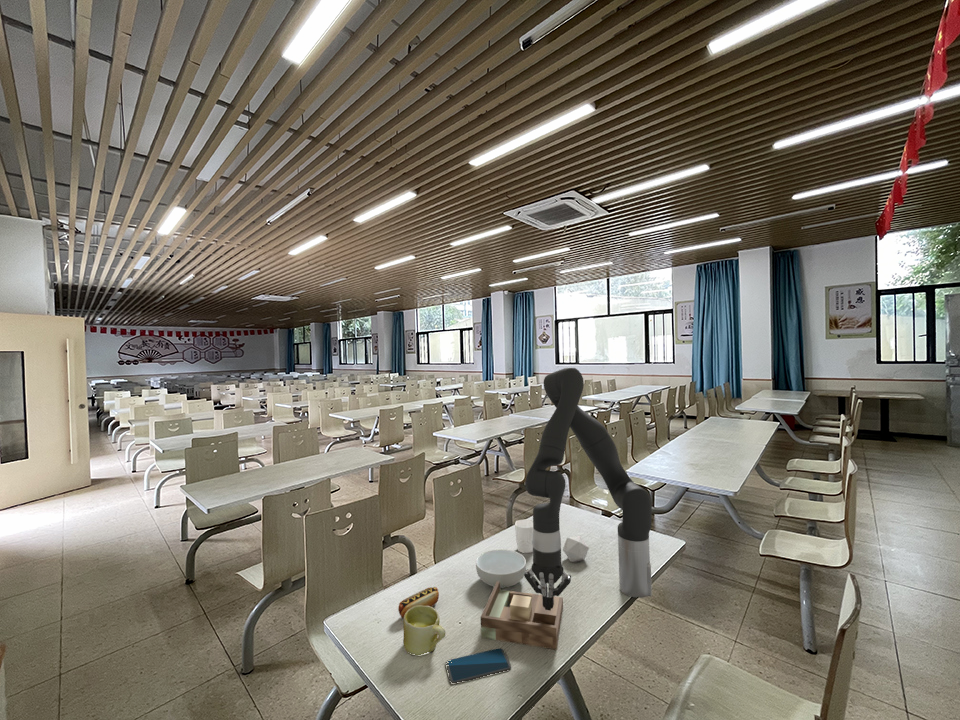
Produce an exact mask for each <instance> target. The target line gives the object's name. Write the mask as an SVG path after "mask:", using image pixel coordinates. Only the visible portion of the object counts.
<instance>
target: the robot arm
mask: <svg viewBox="0 0 960 720" xmlns="http://www.w3.org/2000/svg"><path fill="white" fill-rule="evenodd" d="M584 382H585V381H584V377H583V375H582V373H581V372H580V370H578V369H577V368H576V367H572V366H567V367H564V368H561V369H559V370H555V371H553V372H550V373H548V374H547V375H546V376H545V377H544V379H543V389H544V391H545V392H544V393H546V396H547V398H549V400H550V401H551V403H552V405H554V407H555V410H554V412H553V414H552V415H551V417H550V418H549V420H548V422H547V423H546V425H545V426H544V429H543V431H542V434H541V439H540V443H539V449H538V452H537V455H536V457H535V459H534V461H533V463H532V465H531V466H530V468H529V469H528V472H527V474H526V477H525V480H524V481H525V482H524V486H525V490H526V492H527V493H528V494H529V495H530V496H533V497H540V498H545V499H546V498H547V499H549V502H545V503H544V502H543V503H538V504H536V505H535V506H534V507H533V510H532V521H533V537H532V538H533V540H532V544H533V552H532V564H531V567H530V568H529V569H528V568H526V571H525V574H524V577H523V578H525V580H526V581H527V583H529V585H530V586H531V588H532V589H533V591H534V592H535V594H539V595H542V599H543V607H545V610H550V611H551V608H552V609H553V606H554V596H555V597H560V595H561V594H562V592H564V591H565V589H566V588H567V587H568V586H569V585H570V584H571V583H572V582H571V581H572V575H571V574H569V573H568V574H567V573H566V572H565V571H564V567H563V565H562V537H561V530H560V511H561V504H562V501H563V497H564V493H565V491H566V479H565V477H564V475H563V474H562V473H561V472H559V471H557V470H556V471H555V470H547V469H548V468H549V467H554V466H555V467H556V466H559V465H561V464H562V463H563V461H564V457H565V452H566V446H567V440H568V436H569V432H570V430H571V431H572V432H573V434H574V435H575V437H576V438H577V442H578V443H579V444H580V446H581V448H582V450H583V452H584V453H585V455H586V456H587V458H588V459H589V460H590V462H591V463H592V464H593V466H594V467H595V469H596V470H597V471H598V473H599V474H600V476H601V478H602V479H603V481H604V483H605V486H606V488H607V489H608V491H609V493H610V495H611V497H612V499H613V502H614V503H615V505H616V506H617V508H619V509H620V510H622V511H621V512H622V521H621V522H619V524H618V525H617V545H618V547H617V548H618V550H617V553H618V575H619V576H618V579H619V581H618V582H619V583H618V584H619V590H620V591H621V592H622V593H623V594H624V595H626V596H628V597H631V598H635V599H636V598H637V597H638V596H639V597H638V598H637V599H641V598H646V597H647V598H648V597H653V593H652V592H653V589H652V566H651V565H652V564H651V555H650V553H651V552H650V532H651V529H652V520H653V519H652V517H653V515H652V513H653V512H652V511H653V507H652V498H651V496H650V494H649V492H648V491H647V490H646V489H644V488H643V487H641V486H640V485H638V484H637V483H635V482H634V481H633V479H632V478H631V477H630V476H629V474H628V473H627V471H626V470H625V469H624V467H623V466H622V463H621V459H620V458H619V453H618V448H617V446H616V444H615V441H614V440H613V438H612V437H611V435H610V433H609V432H608V430H607V428H606V427H605V425H603V424H602V423H601V422H600V421H599V420H598V419H596V418H595V417H593V416H592V415H590V414H589V413H588V412H585V411H584V410H583V409H582V408H581V407H580V406H579V402H580V399H581V397H582V394H583V390H584V386H585V385H584V384H585V383H584ZM560 578H561V581H560V583H559V584H558V585H557V586H556V587H555V584H556V583H557V582H558V580H560Z"/></svg>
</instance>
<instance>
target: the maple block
mask: <svg viewBox="0 0 960 720" xmlns="http://www.w3.org/2000/svg"><path fill="white" fill-rule="evenodd" d="M531 617H532V598H531V597H529V596H521V595H513V598H512V601H511V604H510V618H511V619H513V620H520V621H527V622H530V621H531Z"/></svg>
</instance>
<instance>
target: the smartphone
mask: <svg viewBox="0 0 960 720" xmlns="http://www.w3.org/2000/svg"><path fill="white" fill-rule="evenodd" d="M450 660H451V661H448V660H447V661H448V662H449V663H447V662H446V661H445V663H447V664H446V665H449V666H447V670H448V673H449V678H450V681H451V682H452V683H457V682H462V681H467V682H470V681H469V680H471V681H474V680H473V679H475V680H477V679H476V678H479V679H481V678H480V677H483V676H487V675H490V674H495V673H499V672H503V671H507V670H509V671H510V670H512V665H511V662H510V660H509V658H508V655H507V654H506V652H505V649H503V648H501V647H498V648H493V649H490V650H485V651H482V652H481V651H480V652H477V653H472V654H469V655H463V656H461V657H460V656H459V657H455V658H451V659H450ZM451 662H452V663H451ZM447 670H446V671H447ZM507 672H508V671H507ZM503 673H504V672H503ZM499 674H500V673H499ZM495 675H496V674H495ZM487 677H488V676H487ZM449 678H448V679H449ZM483 678H484V677H483Z"/></svg>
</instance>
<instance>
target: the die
mask: <svg viewBox="0 0 960 720" xmlns="http://www.w3.org/2000/svg"><path fill="white" fill-rule="evenodd" d="M562 547H563V548H562V551H563V553H564V554H565V556H566V557H567V559H569V561H570V563H574V562H582V561H585V560H586V557H587V554H588V553H589V549H590V547H589V545H588V544H587V543H586V541H585V540H584V539H583V538H582V536H581V535H575V536H570V537H569V536H568V537H566V540H565V542H564V546H562Z"/></svg>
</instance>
